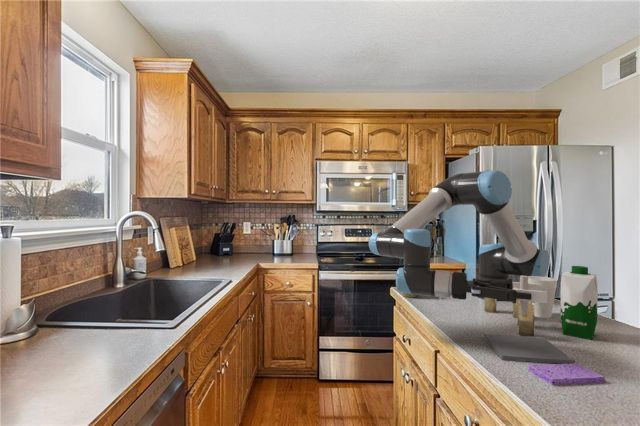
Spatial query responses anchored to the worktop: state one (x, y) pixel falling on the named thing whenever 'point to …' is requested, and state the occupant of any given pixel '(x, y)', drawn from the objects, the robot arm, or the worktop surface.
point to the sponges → (565, 374)
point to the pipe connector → (524, 287)
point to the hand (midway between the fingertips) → (543, 293)
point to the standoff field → (516, 316)
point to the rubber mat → (526, 349)
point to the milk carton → (579, 303)
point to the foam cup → (550, 288)
